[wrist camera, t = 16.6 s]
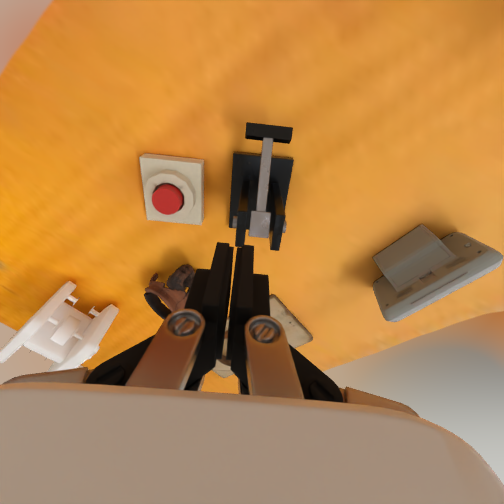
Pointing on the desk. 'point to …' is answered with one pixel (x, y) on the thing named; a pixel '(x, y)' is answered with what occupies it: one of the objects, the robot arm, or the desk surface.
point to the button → (167, 199)
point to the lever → (264, 172)
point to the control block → (179, 175)
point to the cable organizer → (62, 331)
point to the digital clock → (428, 270)
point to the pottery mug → (170, 291)
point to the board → (291, 325)
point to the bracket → (246, 194)
